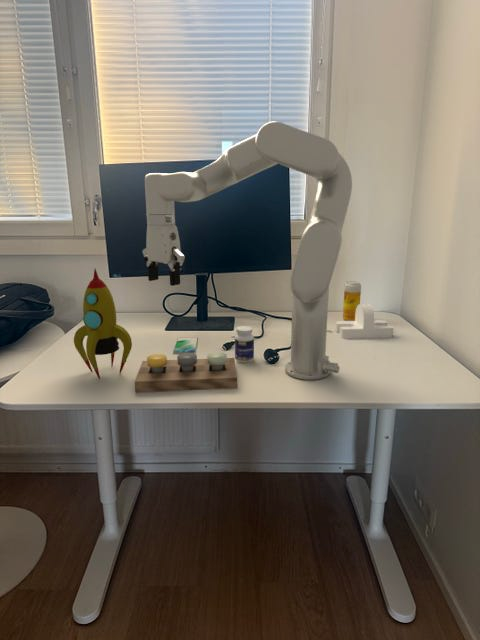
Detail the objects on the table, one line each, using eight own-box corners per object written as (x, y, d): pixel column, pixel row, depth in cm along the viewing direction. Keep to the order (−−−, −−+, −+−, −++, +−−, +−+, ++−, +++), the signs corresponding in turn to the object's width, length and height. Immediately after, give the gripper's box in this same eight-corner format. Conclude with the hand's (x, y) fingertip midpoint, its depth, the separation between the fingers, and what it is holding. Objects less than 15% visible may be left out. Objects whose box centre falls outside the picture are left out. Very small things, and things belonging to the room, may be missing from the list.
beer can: (339, 318, 173) (341, 281, 169) (353, 317, 175) (355, 280, 171) (347, 323, 167) (350, 284, 163) (361, 321, 169) (364, 283, 165)
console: (234, 367, 127) (234, 357, 126) (237, 388, 113) (237, 377, 113) (143, 370, 125) (142, 360, 124) (135, 392, 112) (134, 381, 111)
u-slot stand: (393, 338, 151) (396, 307, 148) (341, 339, 150) (343, 309, 147) (383, 329, 160) (385, 300, 157) (334, 330, 159) (336, 302, 156)
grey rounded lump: (197, 368, 121) (197, 352, 120) (197, 376, 116) (196, 359, 115) (178, 369, 121) (177, 353, 120) (177, 376, 116) (176, 360, 115)
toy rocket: (91, 386, 116) (80, 274, 107) (76, 370, 126) (64, 266, 116) (135, 375, 123) (128, 269, 114) (117, 360, 133) (110, 262, 124)
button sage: (226, 367, 122) (226, 351, 121) (227, 375, 117) (227, 358, 116) (207, 368, 122) (207, 352, 120) (207, 375, 117) (207, 359, 115)
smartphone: (198, 337, 152) (195, 352, 138) (198, 339, 152) (195, 355, 138) (177, 337, 152) (172, 352, 138) (177, 339, 152) (172, 355, 138)
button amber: (168, 369, 121) (167, 353, 120) (166, 377, 116) (165, 360, 115) (149, 370, 121) (148, 354, 119) (146, 378, 116) (145, 361, 114)
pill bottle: (237, 364, 129) (237, 331, 127) (232, 357, 135) (232, 326, 132) (256, 361, 131) (256, 330, 128) (250, 355, 136) (250, 324, 133)
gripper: (192, 221, 117) (194, 284, 122) (152, 218, 128) (156, 276, 133) (170, 223, 112) (173, 289, 116) (131, 220, 123) (135, 280, 128)
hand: (164, 282), depth 125 cm, fingers open, 9 cm apart
